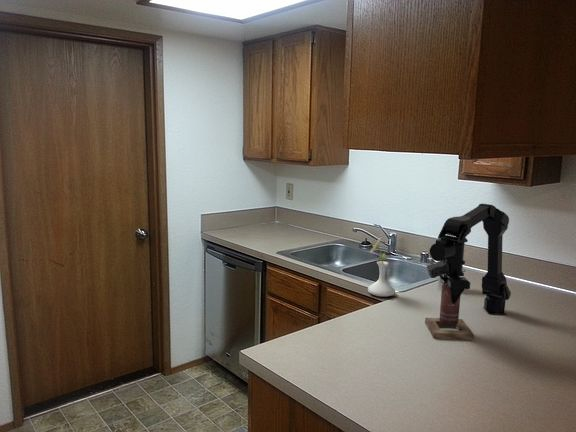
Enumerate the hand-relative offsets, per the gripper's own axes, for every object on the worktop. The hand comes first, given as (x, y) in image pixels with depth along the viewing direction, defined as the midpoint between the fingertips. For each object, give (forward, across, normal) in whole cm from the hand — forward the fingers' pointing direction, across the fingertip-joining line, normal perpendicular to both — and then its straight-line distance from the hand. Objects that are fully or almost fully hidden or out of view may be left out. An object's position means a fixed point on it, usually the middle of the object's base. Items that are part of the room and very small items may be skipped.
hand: (450, 300), depth 158 cm
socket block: (+11, 0, 0) cm, 11 cm away
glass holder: (+12, -44, +10) cm, 46 cm away
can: (+8, 0, 0) cm, 8 cm away
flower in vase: (+11, -35, -19) cm, 41 cm away
